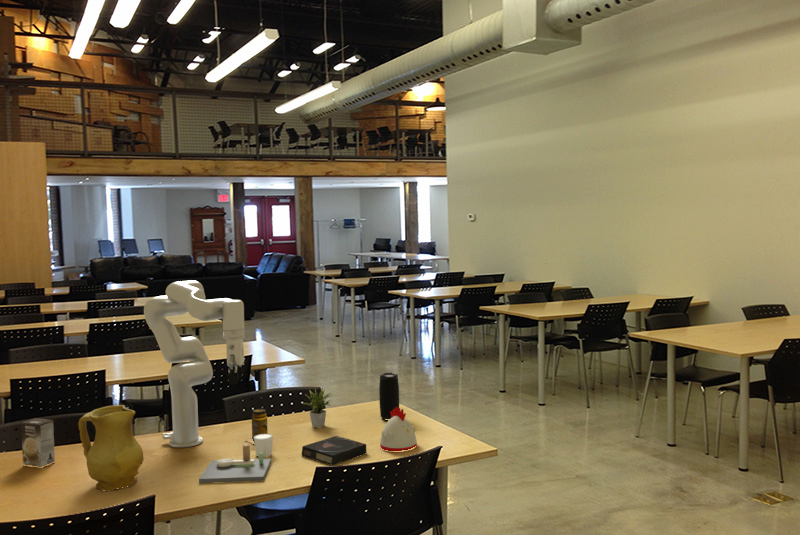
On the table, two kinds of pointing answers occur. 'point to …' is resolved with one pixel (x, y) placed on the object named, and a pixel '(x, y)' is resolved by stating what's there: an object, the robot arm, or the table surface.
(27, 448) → the coffee box
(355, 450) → the flat black box
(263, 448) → the white cup
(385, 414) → the portable speaker
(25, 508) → the table surface
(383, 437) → the kitchen timer
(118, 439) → the pitcher
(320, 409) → the house plant
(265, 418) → the condiment
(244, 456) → the light piece
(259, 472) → the board
